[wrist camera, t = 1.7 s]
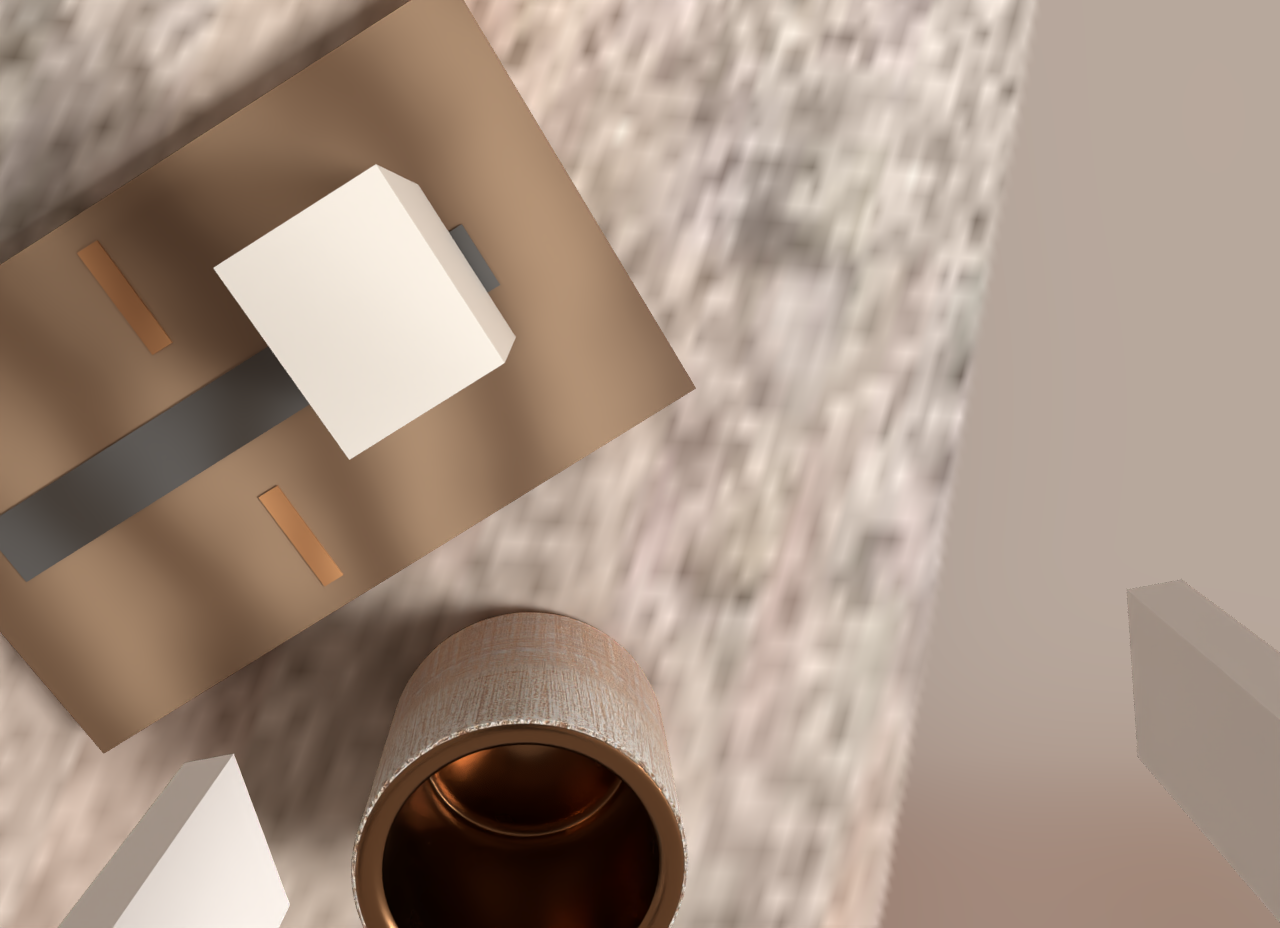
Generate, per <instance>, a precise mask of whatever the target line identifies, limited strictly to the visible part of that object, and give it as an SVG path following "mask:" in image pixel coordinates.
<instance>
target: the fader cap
mask: <svg viewBox="0 0 1280 928" xmlns="http://www.w3.org/2000/svg"><path fill="white" fill-rule="evenodd" d="M214 270H215V271H216V273H217V274H218V275H219V277H220V278H221V280H222V281H223V282H224V284H225V285H226V287H227V288H228V290H229V291H230V292H231V294H232V295H233V297H234V298H235V299H236V301H237V302H238V304H239V305H240V306H241V308H242V309H243V311H244V312H245V314H246V315H247V316H248V318H249V319H250V321H251V322H252V323H253V325H254V326H255V328H256V329H257V330H258V332H259V333H260V335H261V336H262V337H263V339H264V340H265V342H266V343H267V345H268V346H269V347H270V349H271V350H272V352H273V353H274V354H275V356H276V357H277V359H278V360H279V361H280V363H281V364H282V366H283V367H284V369H285V370H286V371H287V373H288V374H289V376H290V377H291V378H292V380H293V381H294V383H295V384H296V385H297V387H298V388H299V390H300V391H301V392H302V394H303V395H304V397H305V398H306V400H307V401H308V402H309V404H310V405H311V407H312V408H313V409H314V411H315V412H316V414H317V415H318V416H319V418H320V419H321V421H322V422H323V424H324V425H325V426H326V428H327V429H328V431H329V432H330V433H331V435H332V436H333V438H334V439H335V440H336V442H337V443H338V445H339V446H340V447H341V449H342V450H343V452H344V453H345V455H346V456H347V457H348V459H349V460H350V459H352V458H353V457H355V456H356V455H358V454H360V453H361V452H363V451H364V450H366V449H368V448H369V447H371V446H372V445H374V444H376V443H377V442H379V441H380V440H382V439H384V438H385V437H387V436H388V435H390V434H392V433H393V432H395V431H396V430H398V429H400V428H401V427H403V426H404V425H406V424H408V423H409V422H411V421H412V420H414V419H416V418H417V417H419V416H420V415H422V414H424V413H425V412H427V411H428V410H430V409H432V408H433V407H435V406H436V405H438V404H440V403H441V402H443V401H445V400H446V399H448V398H449V397H451V396H453V395H454V394H456V393H457V392H459V391H461V390H462V389H464V388H465V387H467V386H469V385H470V384H472V383H473V382H475V381H477V380H478V379H480V378H481V377H483V376H485V375H486V374H488V373H489V372H491V371H493V370H494V369H496V368H497V367H499V366H501V365H502V364H504V363H505V361H506V359H507V357H508V354H509V352H510V350H511V347H512V345H513V343H514V341H515V338H516V337H515V335H514V333H513V332H512V330H511V329H510V327H509V326H508V324H507V323H506V321H505V319H504V318H503V316H502V315H501V313H500V312H499V310H498V308H497V307H496V305H495V304H494V302H493V301H492V299H491V298H490V296H489V294H488V293H487V291H486V290H485V288H484V287H483V285H482V283H481V282H480V280H479V279H478V277H477V276H476V274H475V273H474V271H473V269H472V268H471V266H470V265H469V263H468V262H467V260H466V258H465V257H464V255H463V254H462V252H461V251H460V249H459V248H458V246H457V244H456V243H455V241H454V240H453V238H452V237H451V235H450V233H449V232H448V230H447V229H446V227H445V226H444V224H443V223H442V221H441V219H440V218H439V216H438V215H437V213H436V212H435V210H434V208H433V207H432V205H431V204H430V202H429V201H428V199H427V197H426V196H425V194H424V193H423V191H422V190H421V188H420V187H419V185H418V184H416V183H414V182H412V181H410V180H407V179H405V178H403V177H401V176H399V175H397V174H395V173H393V172H391V171H389V170H387V169H385V168H383V167H381V166H379V165H377V164H376V165H374V166H372V167H371V168H369V169H368V170H366V171H365V172H363V173H361V174H360V175H358V176H357V177H355V178H354V179H352V180H350V181H349V182H347V183H346V184H344V185H343V186H341V187H339V188H338V189H336V190H335V191H333V192H332V193H330V194H328V195H327V196H325V197H324V198H322V199H321V200H319V201H317V202H316V203H314V204H313V205H311V206H310V207H308V208H306V209H305V210H303V211H302V212H300V213H299V214H297V215H295V216H294V217H292V218H291V219H289V220H288V221H286V222H284V223H283V224H281V225H280V226H278V227H277V228H275V229H274V230H272V231H270V232H269V233H267V234H266V235H264V236H263V237H261V238H259V239H258V240H256V241H255V242H253V243H252V244H250V245H248V246H247V247H245V248H244V249H242V250H241V251H239V252H237V253H236V254H234V255H233V256H231V257H230V258H228V259H226V260H225V261H223V262H222V263H220V264H219V265H217V266H215V267H214Z"/></svg>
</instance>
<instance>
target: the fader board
mask: <svg viewBox="0 0 1280 928" xmlns="http://www.w3.org/2000/svg"><path fill="white" fill-rule="evenodd" d="M376 164H377V165H379V166H381V167H383V168H385V169H387V170H389V171H391V172H393V173H395V174H397V175H399V176H401V177H403V178H405V179H407V180H410V181H412V182H414V183H416V184H418V185H419V187H420V188H421V190H422V191H423V193H424V194H425V196H426V197H427V199H428V201H429V202H430V204H431V205H432V207H433V208H434V210H435V212H436V213H437V215H438V216H439V218H440V219H441V221H442V223H443V224H444V226H445V227H446V229H447V230H448V232H449V233H450V235H451V237H452V238H453V240H454V241H455V243H456V244H457V246H458V248H459V249H460V251H461V252H462V254H463V255H464V257H465V258H466V260H467V262H468V263H469V265H470V266H471V268H472V269H473V271H474V273H475V274H476V276H477V277H478V279H479V280H480V282H481V283H482V285H483V287H484V288H485V290H486V291H487V293H488V294H489V296H490V298H491V299H492V301H493V302H494V304H495V305H496V307H497V308H498V310H499V312H500V313H501V315H502V316H503V318H504V319H505V321H506V323H507V324H508V326H509V327H510V329H511V330H512V332H513V333H514V335H515V337H516V338H515V341H514V343H513V345H512V347H511V350H510V352H509V354H508V357H507V359H506V361H505V363H504V364H502V365H501V366H499V367H497V368H496V369H494V370H493V371H491V372H489V373H488V374H486V375H485V376H483V377H481V378H480V379H478V380H477V381H475V382H473V383H472V384H470V385H469V386H467V387H465V388H464V389H462V390H461V391H459V392H457V393H456V394H454V395H453V396H451V397H449V398H448V399H446V400H445V401H443V402H441V403H440V404H438V405H436V406H435V407H433V408H432V409H430V410H428V411H427V412H425V413H424V414H422V415H420V416H419V417H417V418H416V419H414V420H412V421H411V422H409V423H408V424H406V425H404V426H403V427H401V428H400V429H398V430H396V431H395V432H393V433H392V434H390V435H388V436H387V437H385V438H384V439H382V440H380V441H379V442H377V443H376V444H374V445H372V446H371V447H369V448H368V449H366V450H364V451H363V452H361V453H360V454H358V455H356V456H355V457H353V458H352V459H350V460H349V459H348V457H347V456H346V455H345V453H344V452H343V450H342V449H341V447H340V446H339V445H338V443H337V442H336V440H335V439H334V438H333V436H332V435H331V433H330V432H329V431H328V429H327V428H326V426H325V425H324V424H323V422H322V421H321V419H320V418H319V416H318V415H317V414H316V412H315V411H314V409H313V408H312V407H311V405H310V404H309V402H308V401H307V400H306V398H305V397H304V395H303V394H302V392H301V391H300V390H299V388H298V387H297V385H296V384H295V383H294V381H293V380H292V378H291V377H290V376H289V374H288V373H287V371H286V370H285V369H284V367H283V366H282V364H281V363H280V361H279V360H278V359H277V357H276V356H275V354H274V353H273V352H272V350H271V349H270V347H269V346H268V345H267V343H266V342H265V340H264V339H263V337H262V336H261V335H260V333H259V332H258V330H257V329H256V328H255V326H254V325H253V323H252V322H251V321H250V319H249V318H248V316H247V315H246V314H245V312H244V311H243V309H242V308H241V306H240V305H239V304H238V302H237V301H236V299H235V298H234V297H233V295H232V294H231V292H230V291H229V290H228V288H227V287H226V285H225V284H224V282H223V281H222V280H221V278H220V277H219V275H218V274H217V273H216V271H215V270H214V267H215V266H217V265H219V264H220V263H222V262H223V261H225V260H226V259H228V258H230V257H231V256H233V255H234V254H236V253H237V252H239V251H241V250H242V249H244V248H245V247H247V246H248V245H250V244H252V243H253V242H255V241H256V240H258V239H259V238H261V237H263V236H264V235H266V234H267V233H269V232H270V231H272V230H274V229H275V228H277V227H278V226H280V225H281V224H283V223H284V222H286V221H288V220H289V219H291V218H292V217H294V216H295V215H297V214H299V213H300V212H302V211H303V210H305V209H306V208H308V207H310V206H311V205H313V204H314V203H316V202H317V201H319V200H321V199H322V198H324V197H325V196H327V195H328V194H330V193H332V192H333V191H335V190H336V189H338V188H339V187H341V186H343V185H344V184H346V183H347V182H349V181H350V180H352V179H354V178H355V177H357V176H358V175H360V174H361V173H363V172H365V171H366V170H368V169H369V168H371V167H372V166H374V165H376ZM694 389H696V388H695V386H694V384H693V382H692V381H691V379H690V377H689V376H688V374H687V372H686V371H685V369H684V367H683V366H682V364H681V362H680V361H679V359H678V357H677V356H676V354H675V352H674V351H673V349H672V347H671V346H670V344H669V342H668V341H667V339H666V337H665V336H664V334H663V332H662V331H661V329H660V327H659V326H658V324H657V322H656V321H655V319H654V317H653V316H652V314H651V312H650V311H649V309H648V307H647V306H646V304H645V302H644V301H643V299H642V297H641V296H640V294H639V292H638V291H637V289H636V287H635V286H634V284H633V282H632V281H631V279H630V277H629V276H628V274H627V272H626V271H625V269H624V267H623V266H622V264H621V262H620V261H619V259H618V257H617V256H616V254H615V252H614V251H613V249H612V247H611V246H610V244H609V242H608V241H607V239H606V237H605V236H604V234H603V232H602V231H601V229H600V227H599V226H598V224H597V222H596V221H595V219H594V217H593V216H592V214H591V212H590V211H589V209H588V207H587V206H586V204H585V202H584V200H583V199H582V197H581V195H580V194H579V192H578V190H577V189H576V187H575V185H574V184H573V182H572V180H571V179H570V177H569V175H568V174H567V172H566V170H565V169H564V167H563V165H562V164H561V162H560V160H559V159H558V157H557V155H556V154H555V152H554V150H553V149H552V147H551V145H550V144H549V142H548V140H547V139H546V137H545V135H544V134H543V132H542V130H541V129H540V127H539V125H538V124H537V122H536V120H535V119H534V117H533V115H532V114H531V112H530V110H529V109H528V107H527V105H526V104H525V102H524V100H523V99H522V97H521V95H520V94H519V92H518V90H517V89H516V87H515V85H514V84H513V82H512V80H511V79H510V77H509V75H508V74H507V72H506V70H505V69H504V67H503V65H502V64H501V62H500V60H499V59H498V57H497V55H496V54H495V52H494V50H493V49H492V47H491V45H490V44H489V42H488V40H487V39H486V37H485V35H484V34H483V32H482V30H481V29H480V27H479V25H478V24H477V22H476V20H475V19H474V17H473V15H472V13H471V12H470V10H469V8H468V7H467V5H466V3H465V2H464V0H410V1H409V2H407V3H406V4H404V5H403V6H401V7H400V8H398V9H396V10H395V11H393V12H392V13H390V14H389V15H387V16H386V17H384V18H382V19H381V20H379V21H378V22H376V23H375V24H373V25H372V26H370V27H368V28H367V29H365V30H364V31H362V32H361V33H359V34H358V35H356V36H354V37H353V38H351V39H350V40H348V41H347V42H345V43H344V44H342V45H341V46H339V47H337V48H336V49H334V50H333V51H331V52H330V53H328V54H327V55H325V56H323V57H322V58H320V59H319V60H317V61H316V62H314V63H313V64H311V65H309V66H308V67H306V68H305V69H303V70H302V71H300V72H299V73H297V74H295V75H294V76H292V77H291V78H289V79H288V80H286V81H285V82H283V83H282V84H280V85H278V86H277V87H275V88H274V89H272V90H271V91H269V92H268V93H266V94H264V95H263V96H261V97H260V98H258V99H257V100H255V101H254V102H252V103H250V104H249V105H247V106H246V107H244V108H243V109H241V110H240V111H238V112H236V113H235V114H233V115H232V116H230V117H229V118H227V119H226V120H224V121H223V122H221V123H219V124H218V125H216V126H215V127H213V128H212V129H210V130H209V131H207V132H205V133H204V134H202V135H201V136H199V137H198V138H196V139H195V140H193V141H191V142H190V143H188V144H187V145H185V146H184V147H182V148H181V149H179V150H177V151H176V152H174V153H173V154H171V155H170V156H168V157H167V158H165V159H164V160H162V161H160V162H159V163H157V164H156V165H154V166H153V167H151V168H150V169H148V170H146V171H145V172H143V173H142V174H140V175H139V176H137V177H136V178H134V179H132V180H131V181H129V182H128V183H126V184H125V185H123V186H122V187H120V188H118V189H117V190H115V191H114V192H112V193H111V194H109V195H108V196H106V197H105V198H103V199H101V200H100V201H98V202H97V203H95V204H94V205H92V206H91V207H89V208H87V209H86V210H84V211H83V212H81V213H80V214H78V215H77V216H75V217H73V218H72V219H70V220H69V221H67V222H66V223H64V224H63V225H61V226H59V227H58V228H56V229H55V230H53V231H52V232H50V233H49V234H47V235H46V236H44V237H42V238H41V239H39V240H38V241H36V242H35V243H33V244H32V245H30V246H28V247H27V248H25V249H24V250H22V251H21V252H19V253H18V254H16V255H14V256H13V257H11V258H10V259H8V260H7V261H5V262H4V263H2V264H0V632H1V633H2V634H3V636H4V637H5V638H6V639H7V640H8V641H9V643H10V644H11V645H12V646H13V647H14V649H15V650H16V651H17V652H18V653H19V654H20V656H21V657H22V658H23V659H24V660H25V661H26V663H27V664H28V665H29V666H30V667H31V669H32V670H33V671H34V672H35V673H36V674H37V676H38V677H39V678H40V679H41V680H42V682H43V683H44V684H45V685H46V686H47V687H48V689H49V690H50V691H51V692H52V693H53V694H54V696H55V697H56V698H57V699H58V700H59V702H60V703H61V704H62V705H63V706H64V707H65V709H66V710H67V711H68V712H69V713H70V714H71V716H72V717H73V718H74V719H75V720H76V722H77V723H78V724H79V725H80V726H81V727H82V729H83V730H84V731H85V732H86V733H87V734H88V736H89V737H90V738H91V739H92V740H93V742H94V743H95V744H96V745H97V746H98V747H99V749H100V750H101V751H102V752H103V753H106V752H107V751H109V750H110V749H112V748H114V747H115V746H117V745H119V744H120V743H122V742H123V741H125V740H127V739H128V738H130V737H132V736H133V735H135V734H136V733H138V732H140V731H141V730H143V729H145V728H146V727H148V726H149V725H151V724H153V723H154V722H156V721H157V720H159V719H161V718H162V717H164V716H166V715H167V714H169V713H170V712H172V711H174V710H175V709H177V708H179V707H180V706H182V705H183V704H185V703H187V702H188V701H190V700H192V699H193V698H195V697H196V696H198V695H200V694H201V693H203V692H204V691H206V690H208V689H209V688H211V687H213V686H214V685H216V684H217V683H219V682H221V681H222V680H224V679H226V678H227V677H229V676H230V675H232V674H234V673H235V672H237V671H239V670H240V669H242V668H243V667H245V666H247V665H248V664H250V663H252V662H253V661H255V660H256V659H258V658H260V657H261V656H263V655H264V654H266V653H268V652H269V651H271V650H273V649H274V648H276V647H277V646H279V645H281V644H282V643H284V642H286V641H287V640H289V639H290V638H292V637H294V636H295V635H297V634H299V633H300V632H302V631H303V630H305V629H307V628H308V627H310V626H311V625H313V624H315V623H316V622H318V621H320V620H321V619H323V618H324V617H326V616H328V615H329V614H331V613H333V612H334V611H336V610H337V609H339V608H341V607H342V606H344V605H346V604H347V603H349V602H350V601H352V600H354V599H355V598H357V597H359V596H360V595H362V594H363V593H365V592H367V591H368V590H370V589H371V588H373V587H375V586H376V585H378V584H380V583H381V582H383V581H384V580H386V579H388V578H389V577H391V576H393V575H394V574H396V573H397V572H399V571H401V570H402V569H404V568H406V567H407V566H409V565H410V564H412V563H414V562H415V561H417V560H418V559H420V558H422V557H423V556H425V555H427V554H428V553H430V552H431V551H433V550H435V549H436V548H438V547H440V546H441V545H443V544H444V543H446V542H448V541H449V540H451V539H453V538H454V537H456V536H457V535H459V534H461V533H462V532H464V531H466V530H467V529H469V528H470V527H472V526H474V525H475V524H477V523H478V522H480V521H482V520H483V519H485V518H487V517H488V516H490V515H491V514H493V513H495V512H496V511H498V510H500V509H501V508H503V507H504V506H506V505H508V504H509V503H511V502H513V501H514V500H516V499H517V498H519V497H521V496H522V495H524V494H525V493H527V492H529V491H530V490H532V489H534V488H535V487H537V486H538V485H540V484H542V483H543V482H545V481H547V480H548V479H550V478H551V477H553V476H555V475H556V474H558V473H560V472H561V471H563V470H564V469H566V468H568V467H569V466H571V465H573V464H574V463H576V462H577V461H579V460H581V459H582V458H584V457H585V456H587V455H589V454H590V453H592V452H594V451H595V450H597V449H598V448H600V447H602V446H603V445H605V444H607V443H608V442H610V441H611V440H613V439H615V438H616V437H618V436H620V435H621V434H623V433H624V432H626V431H628V430H629V429H631V428H633V427H634V426H636V425H637V424H639V423H641V422H642V421H644V420H645V419H647V418H649V417H650V416H652V415H654V414H655V413H657V412H658V411H660V410H662V409H663V408H665V407H667V406H668V405H670V404H671V403H673V402H675V401H676V400H678V399H680V398H681V397H683V396H684V395H686V394H688V393H689V392H691V391H692V390H694Z"/></svg>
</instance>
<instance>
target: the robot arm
mask: <svg viewBox="0 0 1280 928" xmlns="http://www.w3.org/2000/svg"><path fill="white" fill-rule="evenodd" d="M1127 602H1128V616H1129V632H1130V647H1131V663H1132V678H1133V694H1134V708H1135V723H1136V739H1137V753H1138V758H1139V759H1140V760H1141V761H1142V762H1143V764H1144V765H1145V766H1146V767H1147V768H1148V770H1149V771H1150V772H1151V773H1152V774H1153V775H1154V776H1155V778H1156V779H1157V780H1158V781H1159V782H1160V784H1161V785H1162V786H1163V787H1164V788H1165V789H1166V790H1167V792H1168V793H1169V794H1170V795H1171V796H1172V797H1173V799H1174V800H1175V801H1176V802H1177V803H1178V805H1179V806H1180V807H1181V808H1182V809H1183V810H1184V812H1185V813H1186V814H1187V815H1188V816H1189V817H1190V819H1192V821H1193V822H1194V823H1195V824H1196V826H1197V827H1198V828H1199V829H1200V830H1201V831H1202V832H1203V834H1204V835H1205V836H1206V837H1207V838H1208V839H1209V841H1210V842H1211V843H1212V844H1213V845H1214V846H1215V848H1216V849H1217V850H1218V851H1219V852H1220V853H1221V854H1222V856H1223V857H1224V858H1225V859H1226V860H1227V861H1228V863H1229V864H1230V865H1231V866H1232V867H1233V868H1234V870H1235V871H1236V872H1237V873H1238V874H1239V876H1240V877H1241V878H1242V879H1243V880H1244V881H1245V882H1246V884H1247V885H1248V886H1249V887H1250V888H1251V890H1252V891H1253V892H1254V893H1255V894H1256V895H1257V896H1258V898H1259V899H1260V900H1261V901H1262V902H1263V904H1264V905H1265V906H1266V907H1267V908H1268V909H1269V911H1270V912H1271V913H1272V914H1273V915H1274V916H1275V918H1276V919H1277V920H1278V921H1279V922H1280V652H1278V651H1277V650H1276V649H1274V648H1273V647H1272V646H1270V645H1269V644H1268V643H1266V642H1265V641H1264V640H1262V639H1261V638H1259V637H1258V636H1257V635H1256V634H1254V633H1253V632H1252V631H1250V630H1249V629H1248V628H1246V627H1245V626H1243V625H1242V624H1241V623H1239V622H1238V621H1237V620H1235V619H1234V618H1233V617H1231V616H1230V615H1229V614H1227V613H1226V612H1225V611H1223V610H1222V609H1221V608H1219V607H1218V606H1217V605H1215V604H1214V603H1213V602H1211V601H1210V600H1209V599H1207V598H1206V597H1204V596H1203V595H1202V594H1200V593H1199V592H1198V591H1196V590H1195V589H1193V588H1192V587H1191V586H1190V585H1188V584H1187V583H1186V582H1184V581H1183V580H1177V581H1171V582H1165V583H1160V584H1154V585H1149V586H1143V587H1139V588H1133V589H1127ZM289 905H290V904H289V901H288V898H287V896H286V893H285V890H284V888H283V885H282V882H281V880H280V877H279V874H278V872H277V869H276V866H275V863H274V861H273V858H272V855H271V853H270V850H269V847H268V845H267V842H266V839H265V836H264V834H263V831H262V828H261V826H260V823H259V820H258V818H257V815H256V812H255V809H254V807H253V804H252V801H251V799H250V796H249V793H248V791H247V788H246V785H245V782H244V780H243V777H242V774H241V772H240V769H239V766H238V764H237V761H236V758H235V756H234V754H229V755H224V756H218V757H213V758H207V759H202V760H197V761H191V762H186V763H184V764H183V765H182V767H181V768H180V769H179V770H178V772H177V773H176V774H175V776H174V777H173V778H172V780H171V781H170V782H169V783H168V785H167V786H166V787H165V789H164V790H163V791H162V793H161V794H160V795H159V796H158V798H157V799H156V800H155V802H154V803H153V804H152V806H151V807H150V808H149V809H148V811H147V812H146V813H145V815H144V816H143V817H142V819H141V820H140V821H139V822H138V824H137V825H136V826H135V828H134V829H133V830H132V832H131V833H130V834H129V835H128V837H127V838H126V839H125V841H124V842H123V843H122V845H121V846H120V847H119V848H118V850H117V851H116V852H115V854H114V855H113V856H112V858H111V859H110V860H109V861H108V863H107V864H106V865H105V867H104V868H103V869H102V871H101V872H100V873H99V874H98V876H97V877H96V878H95V880H94V881H93V882H92V884H91V885H90V886H89V887H88V889H87V890H86V891H85V893H84V894H83V895H82V897H81V898H80V899H79V900H78V902H77V903H76V904H75V906H74V907H73V908H72V910H71V911H70V912H69V913H68V915H67V916H66V917H65V919H64V920H63V921H62V923H61V924H60V925H59V926H58V928H279V927H280V924H281V922H282V920H283V918H284V916H285V914H286V912H287V910H288V908H289Z"/></svg>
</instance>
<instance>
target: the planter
mask: <svg viewBox="0 0 1280 928" xmlns="http://www.w3.org/2000/svg"><path fill="white" fill-rule="evenodd" d="M687 872H688V851H687V843H686V836H685V831H684V826H683V821H682V817H681V812H680V808H679V803H678V798H677V794H676V789H675V783H674V778H673V773H672V768H671V763H670V758H669V752H668V747H667V742H666V736H665V731H664V726H663V722H662V717H661V712H660V708H659V705H658V701H657V698H656V696H655V693H654V691H653V689H652V687H651V685H650V683H649V681H648V679H647V678H646V676H645V674H644V673H643V671H642V669H641V668H640V666H639V665H638V664H637V662H636V661H635V660H634V658H633V657H632V656H631V655H630V654H629V653H628V652H627V651H626V650H625V649H624V648H623V647H622V646H621V645H620V644H618V643H617V642H616V641H615V640H614V639H612V638H611V637H609V636H608V635H607V634H605V633H603V632H602V631H600V630H598V629H596V628H594V627H592V626H590V625H588V624H586V623H583V622H581V621H578V620H576V619H572V618H569V617H566V616H561V615H556V614H549V613H539V612H521V613H511V614H505V615H500V616H495V617H492V618H488V619H485V620H482V621H479V622H477V623H474V624H472V625H470V626H468V627H466V628H464V629H462V630H460V631H458V632H457V633H455V634H453V635H452V636H450V637H449V638H447V639H446V640H445V641H443V642H442V643H441V644H440V645H438V646H437V647H436V648H435V649H434V650H433V651H432V652H431V653H430V654H429V655H428V656H427V657H426V658H425V659H424V660H423V662H422V663H421V664H420V665H419V667H418V668H417V669H416V671H415V672H414V674H413V675H412V677H411V678H410V680H409V681H408V683H407V685H406V687H405V688H404V690H403V692H402V695H401V697H400V699H399V702H398V705H397V708H396V711H395V714H394V717H393V720H392V723H391V726H390V730H389V733H388V736H387V739H386V743H385V746H384V749H383V753H382V756H381V760H380V763H379V766H378V769H377V773H376V776H375V779H374V782H373V785H372V789H371V792H370V795H369V798H368V801H367V804H366V807H365V810H364V813H363V816H362V819H361V822H360V825H359V828H358V831H357V835H356V839H355V843H354V849H353V856H352V868H351V876H352V889H353V896H354V900H355V905H356V908H357V912H358V915H359V918H360V920H361V923H362V925H363V927H364V928H671V927H672V925H673V923H674V921H675V919H676V916H677V914H678V911H679V909H680V906H681V903H682V900H683V896H684V892H685V887H686V881H687Z"/></svg>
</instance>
